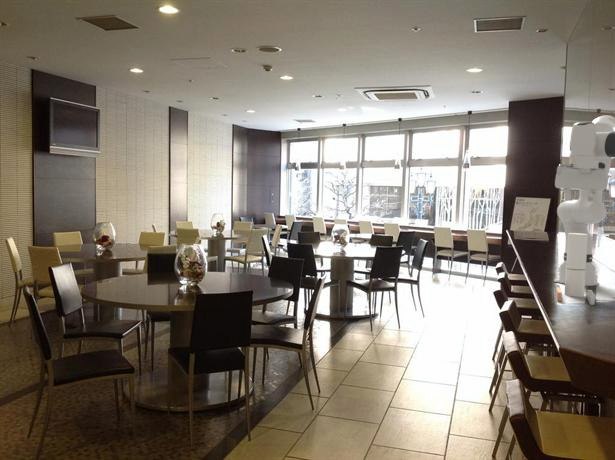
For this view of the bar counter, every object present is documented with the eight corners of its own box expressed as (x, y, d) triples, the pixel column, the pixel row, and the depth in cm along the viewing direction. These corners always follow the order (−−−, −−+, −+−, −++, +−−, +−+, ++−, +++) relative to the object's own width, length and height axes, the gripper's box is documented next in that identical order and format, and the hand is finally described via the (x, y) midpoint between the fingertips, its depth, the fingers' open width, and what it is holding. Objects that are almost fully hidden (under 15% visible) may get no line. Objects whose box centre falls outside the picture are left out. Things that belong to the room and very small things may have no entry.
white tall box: (580, 294, 221) (583, 233, 219) (587, 297, 214) (590, 234, 212) (561, 293, 222) (565, 233, 220) (568, 296, 215) (571, 234, 213)
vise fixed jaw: (586, 298, 211) (587, 289, 211) (590, 298, 211) (591, 290, 210) (590, 304, 198) (590, 295, 198) (594, 305, 198) (595, 295, 198)
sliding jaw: (555, 292, 222) (555, 284, 222) (558, 292, 221) (559, 285, 221) (557, 300, 203) (557, 292, 202) (561, 301, 202) (561, 292, 202)
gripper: (563, 163, 198) (561, 200, 199) (611, 164, 202) (609, 201, 203) (552, 163, 205) (550, 200, 205) (599, 165, 209) (597, 201, 209)
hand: (579, 201), depth 204 cm, fingers open, 8 cm apart
